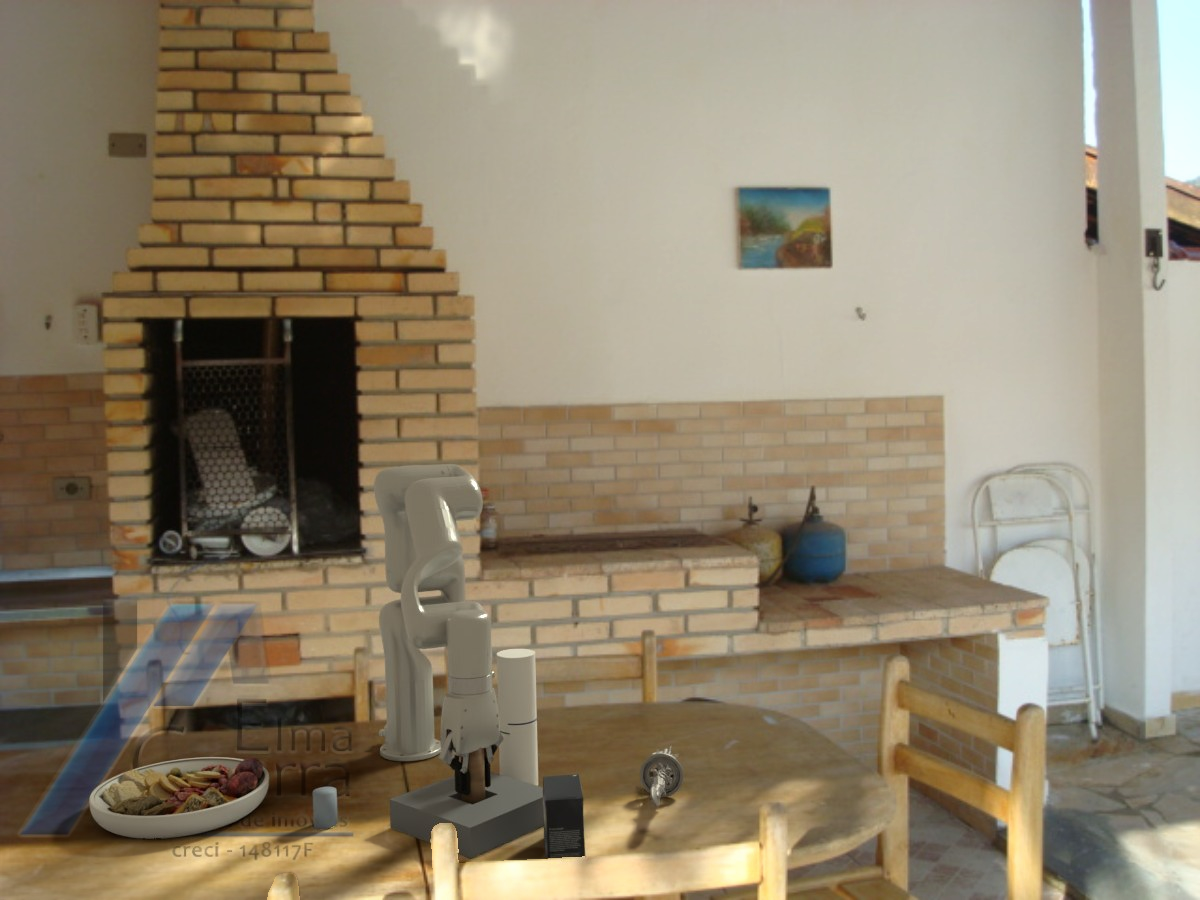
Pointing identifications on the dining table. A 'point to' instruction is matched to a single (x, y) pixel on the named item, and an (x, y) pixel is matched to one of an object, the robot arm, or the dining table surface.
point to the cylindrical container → (517, 714)
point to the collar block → (471, 813)
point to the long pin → (476, 777)
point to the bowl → (179, 797)
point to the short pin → (325, 807)
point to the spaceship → (661, 775)
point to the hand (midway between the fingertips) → (473, 788)
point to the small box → (563, 816)
